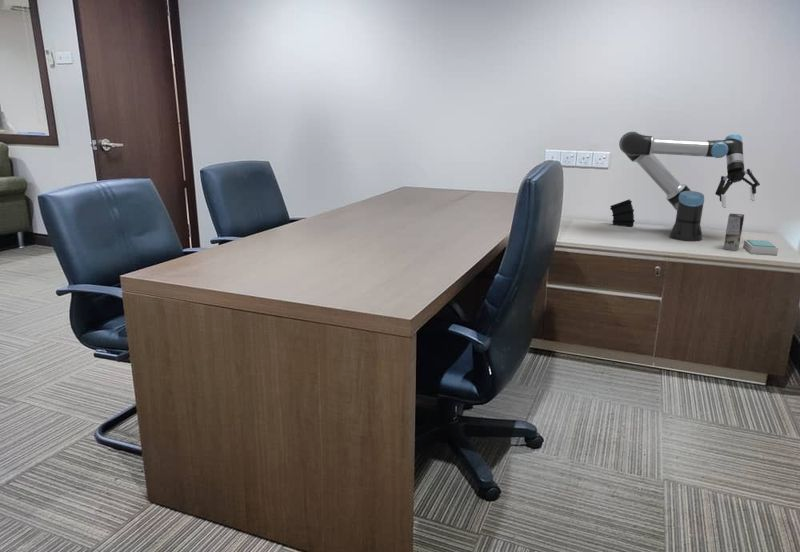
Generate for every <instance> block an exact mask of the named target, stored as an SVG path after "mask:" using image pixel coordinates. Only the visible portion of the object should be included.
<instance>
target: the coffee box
mask: <svg viewBox="0 0 800 552" xmlns="http://www.w3.org/2000/svg"><path fill="white" fill-rule="evenodd" d="M744 220H745V214H741V213H729V215H728V218H727V224H726V231H725V236H724V242H723V250H730V251H731V250H733V251H739V247H740V244H741V243H740V241H741V237H742V233H743V232H742V231H743V226H744Z"/></svg>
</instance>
